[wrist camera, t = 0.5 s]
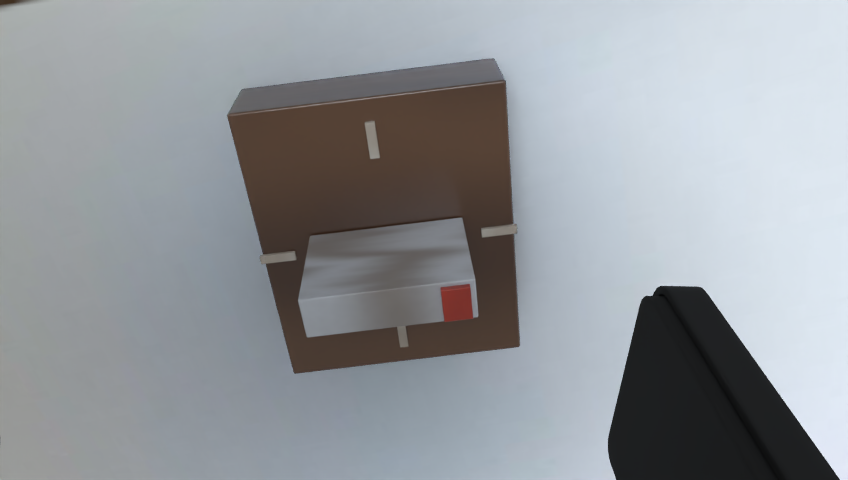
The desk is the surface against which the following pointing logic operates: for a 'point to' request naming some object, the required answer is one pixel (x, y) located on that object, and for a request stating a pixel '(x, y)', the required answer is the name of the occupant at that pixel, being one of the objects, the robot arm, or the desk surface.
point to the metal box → (387, 278)
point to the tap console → (383, 192)
